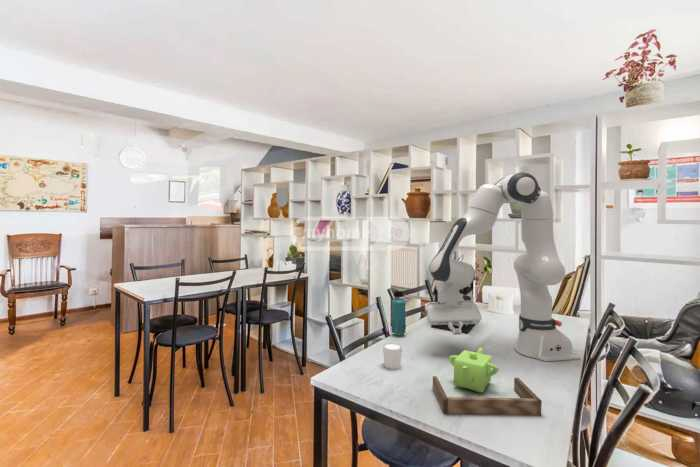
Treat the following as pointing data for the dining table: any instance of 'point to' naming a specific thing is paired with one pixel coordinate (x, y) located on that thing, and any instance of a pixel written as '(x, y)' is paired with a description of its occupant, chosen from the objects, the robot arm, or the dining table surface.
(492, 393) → the dining table surface
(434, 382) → the frame
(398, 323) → the beverage bottle
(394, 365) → the white cylinder
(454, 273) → the robot arm
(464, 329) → the lantern
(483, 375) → the teapot
